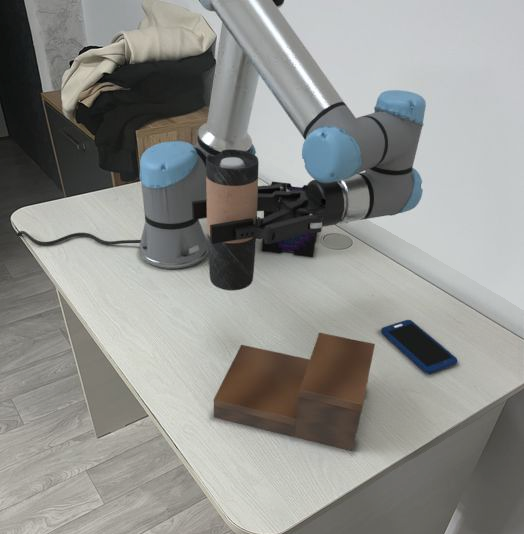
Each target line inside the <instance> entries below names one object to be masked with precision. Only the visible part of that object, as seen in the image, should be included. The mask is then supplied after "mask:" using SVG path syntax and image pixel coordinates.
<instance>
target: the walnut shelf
mask: <svg viewBox="0 0 524 534" xmlns="http://www.w3.org/2000/svg"><path fill="white" fill-rule="evenodd" d="M375 346H376V344H375V343H372V342H367V341H362V340H357V339H353V338H348V337H343V336H339V335H338V336H337V335H333V334H328V333H324V332H318V334H317V338H316V340H315V343H314V346H313V350H312V352H311V356H310V358H305V357H300V356H295V355H292V354H286V353H281V352H279V351H278V352H277V351H272V350H268V349H263V348H259V347H255V346H249V345H245V344H241V345H240V346H239V348H238V350H237V352H236V354H235V356H234V357H233V360H232V362H231V364H230V366H229V368H228V370H227V372H226V375H225V376H224V378H223V380H222V382H221V383H220V385H219V388H218V390H217V392H216V394H215V395H214V398H213V418H215V419H220V420H224V421H228V422H232V423H236V424H240V425H243V426H244V425H245V426H249V427H252V428H256V429H260V430H265V431H269V432H273V433H277V434H281V435H285V436H290V437H293V438H296V439H302V440H305V441H308V442H309V441H310V442H312V443H313V442H314V443H318V444H321V445H325V446H330V447H334V448H339V449H342V450H345V451H351V452H353V449H354V446H355V442H356V441H355V440H356V437H357V432H358V429H359V423H360V419H361V415H362V411H363V407H364V401H365V398H366V397H365V396H366V391H367V388H368V387H367V386H368V381H369V376H370V372H371V366H372V361H373V356H374V351H375Z"/></svg>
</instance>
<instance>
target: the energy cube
mask: <svg viewBox="0 0 524 534" xmlns="http://www.w3.org/2000/svg"><path fill="white" fill-rule="evenodd" d="M279 183H283V182H281V181H280V182H279V181H271V183H270V185H275V184H279ZM285 183H286V184H287V189H288V190H289V191H291V190H301V191H302V190H304V189H305V188H306V186H307V185H308V184H304V185H303V186H293V185H292V184H291V183H290V182H285ZM277 208H279V201H278V207H277ZM271 214H273V212H272V211H263V218H264V217H267V216H269V215H271ZM273 235H274V233H273V234H272V236H273ZM317 237H318V233H308V234H304V235H300V236H297V237H293V238H290V239H286V240H282V241H279V242H275V243H271V244H265V243H264V239H261V240H262V241H261V252H265V253H272V254H281V253H282V252H289V253H292V254H293V255H294V256H298V257H299V256H300V257H308V258H314V254H315V248H316V242H317Z"/></svg>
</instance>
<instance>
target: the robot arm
mask: <svg viewBox="0 0 524 534" xmlns="http://www.w3.org/2000/svg"><path fill="white" fill-rule="evenodd" d="M198 2H199V3H200V4H201V6H202V7H203V8H204V9H205V10H206V11H209V12H215V14H216V15H217V16H218V18H219V19H220V21H221V29H220V34H219V42H218V48H217V54H216V62H215V68H214V75H213V79H212V80H213V81H212V88H211V93H210V94H211V95H210V101H209V106H208V114H207V121H206V122H205V123H203V124H202V125H201V126H200V127H199V128H198V131H197V138H196V144H195V145H193V144H191V143H190V142H187V141H182V140H173V141H163V142H162V141H161V142H159V143H156V144H154V145H152V146H149V147H148V148H147V149H146V150H144V152H142V155H141V156H140V160H139V180H140V184H141V192H142V193H141V194H142V205H143V212H144V226H143V230H142V234H141V239H124V240H123V239H122V240H113V241H111V240H104V239H100V238H99V237H98V236H95V234H92V233H89V232H75V233H71V234H67V235H64V236H62V237H60V238H57V239H54V240H50V241H42V240H41V241H40V240H37V239H35V238H34V237H32V236H31V235H30V234H29V233H28V232H26V231H24V230H20V231H18V232H17V233H16V236H17V237H20V236H21V235H23V236H24V237H26V238H27V239H29V241H31V242H33V243H34V244H36V245H39V246H40V245H41V246H49V245H55V244H58V243H61V242H65V241H66V240H68V239H72V238H75V237H89V238H91V239H93V240H94V241H96V242H98V243H100V244H103V245H109V246H111V245H122V244H139V252H140V253H139V254H140V257H141V259H142V260H143V261H144V262H145V263H147V264H148V265H151V266H153V267H156V268H160V269H165V270H166V269H167V270H169V269H170V270H178V269H185V268H189V267H193V266H195V265H197V264H199V263H202V261H204V260H205V259H206V258H207V256H208V239H207V238H206V235H205V233H204V230H203V227H202V224H201V222H200V220H201V219H202V220H203V219H207V191H206V158H207V156H208V155H209V154H210V155H211V156H215V155H218V154H220V153H221V152H222V151H223V150H228V149H234V150H242V151H247V152H250V153H252V154H254V155H255V156H256V154H257V151H256V148H255V146H254V144H253V140H252V137H251V135H250V134H249V132H248V130H249V125H250V120H251V116H252V110H253V107H254V102H255V98H256V92H257V88H258V83H259V79H260V78H261V79H262V81H263V82H264V84H265V85H266V86H267V88H268V89H269V91H270V92H271V94H272V95H273V96H274V98H275V99H276V101H277V102H278V104H279V106H281V108H282V109H283V111H284V112H285V114H286V115H287V116H288V118H289V119H290V121H291V122H292V124H293V125H294V126H295V128H296V129H297V130H298V132H299V134H300V135H301V136H302V138H303V140H304V141H303V144H302V147H301V158H302V160H303V162H304V168H305V170H306V173H308V175H309V176H310V177H311V178H312V180H310V181H309V182H308V183H307V184H306V185H307V186H306V188H305V189H304V190H302V191H301V190H291V191H289V190H288V189H287V184H286V183H287V182H282V183H279V184H275V185H271V184H268V185H258V199H257V212H264V211H272V212H273V214H271V215H269V216H267V217H264V216H263V217H260V216H258V215H257V216H256V220H255V224H254V220H253V219H252V218H250V219H244V220H238V221H231V222H225V223H219V224H213V225H210V242H211V243H212V244H217V243H222V242H228V241H234V240H241V239H247V238H252V237H255V238H256V240H262V239H264V243H265V244H271V243H275V242H279V241H282V240H286V239H290V238H293V237H297V236H300V235H304V234H308V233H317V234H318V233H321V232H322V228H325V227H330V226H336V225H338V224H348V223H350V222H356V221H361V220H362V221H363V220H368V219H375V218H380V217H386V216H396V215H398V214H404V213H406V212H408V211H409V212H410V211H411V210H413V209H415V208H416V207H417V206H418V205H419V203H420V201H421V200H422V197H423V188H422V184H423V180H422V177H421V175H420V172H419V171H418V170H417V169H416V168H414V163H415V159H416V154H417V150H418V146H419V142H420V138H421V134H422V130H423V127H424V118H425V113H426V106H427V103H426V100H425V98H424V97H423V96H422V95H420V94H418V93H415V92H414V91H413V92H412V91H408V90H400V89H399V90H398V89H391V90H384V91H383V92H381V93H380V94H379V95H378V97H377V99H376V103H375V106H374V108H373V110H374V112H371V113H369V114H365V115H362V116H358V117H356V116H355V114H354V113H353V112H352V111H351V109H350V108H349V107H348V105H347V104H346V102H345V100H344V99H343V98H342V97H341V96H340V94H339V92H338V91H337V90H336V88H335V86H333V84H332V83H331V82H330V80H329V78H328V77H327V75H326V74H325V73H324V71H323V70H322V68H321V67H320V65H319V64H318V63H317V61H316V60H315V58H314V57H313V56H312V54H311V53H310V51H309V50H308V48H307V47H306V46H305V44H304V43H303V42H302V40H301V38H300V37H299V36H298V35H297V33H296V31H295V30H294V29H293V28H292V26H291V25H290V23H289V22H288V20H287V19H286V18H285V15H283V13H282V12H281V11H280V9H281V8H282V7H283V5H284V3H285V0H198ZM278 201H279V208H277V207H278ZM273 233H274V235H273V236H272V234H273Z"/></svg>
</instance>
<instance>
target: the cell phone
mask: <svg viewBox="0 0 524 534" xmlns="http://www.w3.org/2000/svg"><path fill="white" fill-rule="evenodd" d="M380 332H381V334H382V335H383V336H384V337H386V338H387V340H389V341H390V342H391V343H392V344H393V345H394V346H395V347H396V348H398V350H400V351H401V352H402V353H403V354H404V355H405V356H406V357H408V359H409V360H411V361H412V362H413V363H414V364H415V365H416V366H417V367H418V368H420V370H422V371H423V372H424V373H425V374H433V373H436V372H439V371H441V370H444V369H446V368H449V367H452V366H455V365H456V364H457V363H458V358H457V357H456V356H455V355H454V354H453V353H452V352H450V351H449V350H447V348H445V347H444V346H443V345H442V344H441V343H439V342H438V341H437V340H436V339H434V338H433V337H432V336H431V335H430V334H429V333H428V332H426V331H425V330H424V329H423V328H422V327H420V326H419V325H418V324H417V323H416V322H414V321H413V320H412V319H405V320H402V321H399V322H396V323H393V324H389V325H387V326H384V327H382V328H381V329H380Z"/></svg>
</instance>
